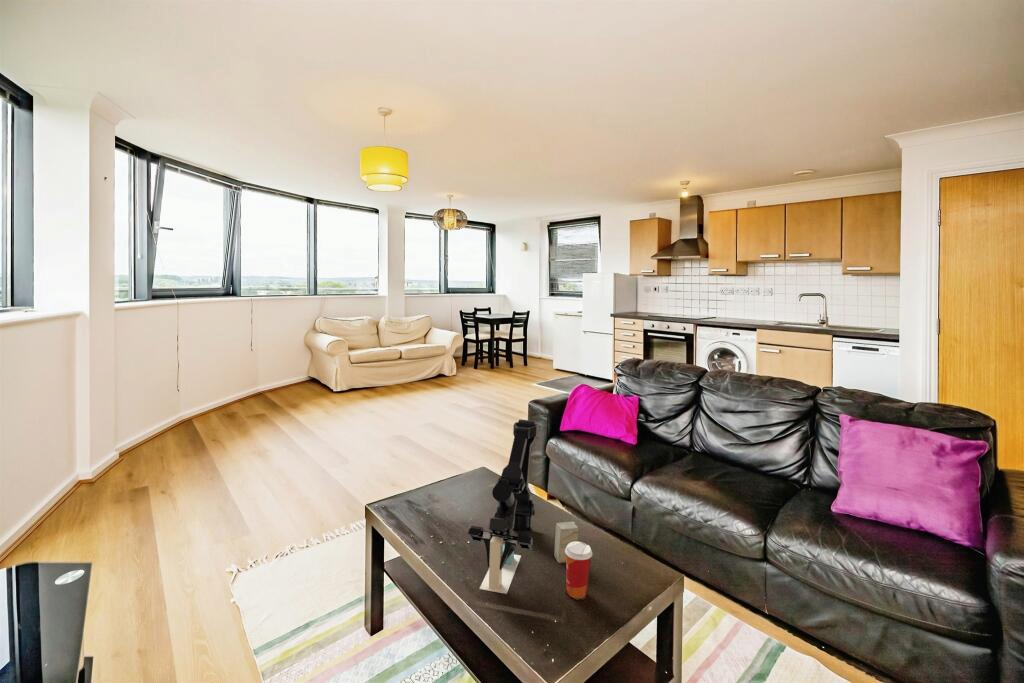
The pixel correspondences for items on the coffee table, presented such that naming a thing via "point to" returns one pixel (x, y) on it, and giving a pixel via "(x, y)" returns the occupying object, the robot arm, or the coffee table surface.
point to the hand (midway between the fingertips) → (494, 568)
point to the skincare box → (564, 538)
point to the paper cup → (577, 568)
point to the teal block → (509, 557)
